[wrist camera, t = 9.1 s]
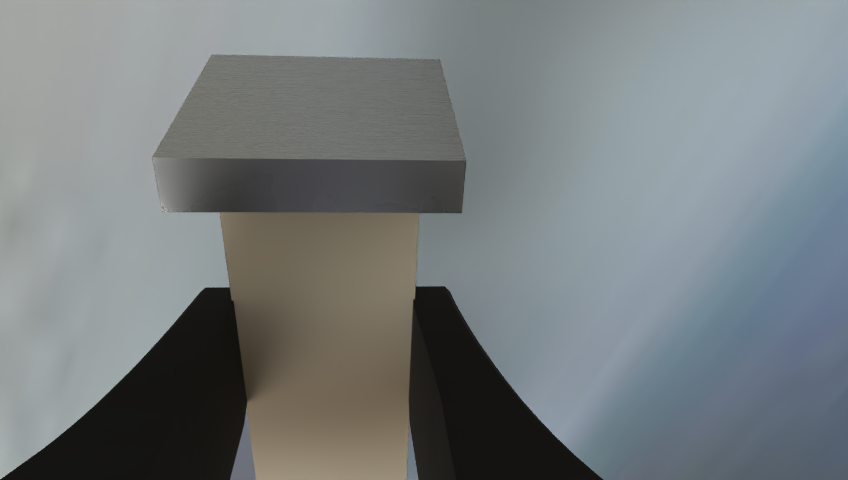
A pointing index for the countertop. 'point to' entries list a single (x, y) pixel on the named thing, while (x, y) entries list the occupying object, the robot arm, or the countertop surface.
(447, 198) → the capped square post
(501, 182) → the countertop surface
